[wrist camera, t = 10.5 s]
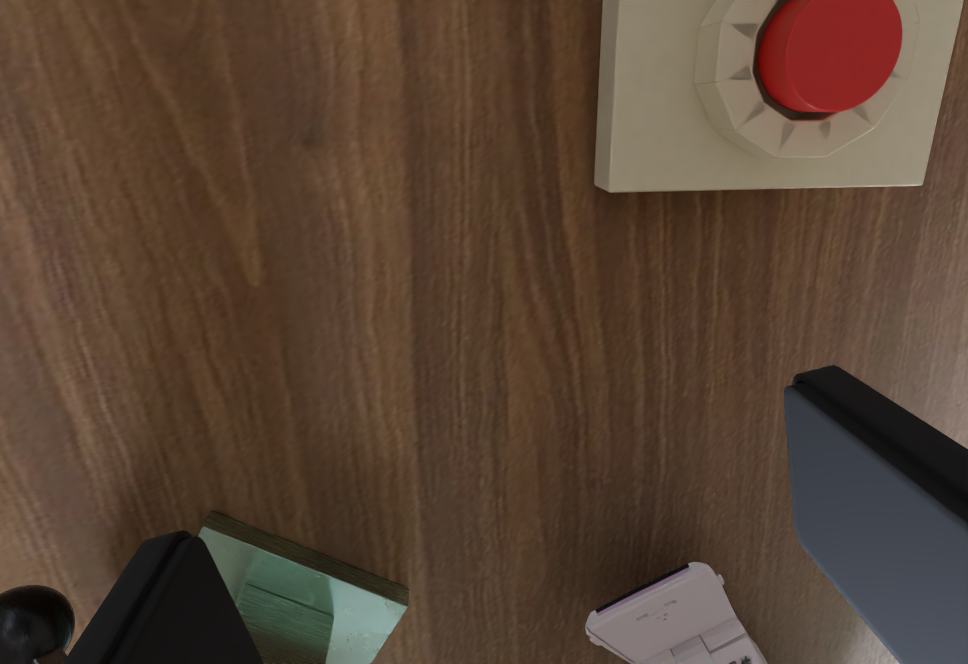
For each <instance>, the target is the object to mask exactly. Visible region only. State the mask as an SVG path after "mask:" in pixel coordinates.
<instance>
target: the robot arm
mask: <svg viewBox="0 0 968 664" xmlns="http://www.w3.org/2000/svg"><path fill="white" fill-rule="evenodd" d="M784 409H785V421H786V434H787V446H788V458H789V471H790V483H791V495H792V508H793V520H794V528H795V532H796V535H797V538H798V540H799V542H800V544H801V546H802V547H803V549H804V550H805V551H806V553H807V554H808V555H809V556H810V557H811V559H812V560H813V561H814V562H815V563H816V565H817V566H818V567H819V568H820V569H821V570H822V572H823V573H824V574H825V575H826V576H827V578H828V579H829V580H830V581H831V582H832V584H833V585H834V586H835V587H836V588H837V590H838V591H839V592H840V593H841V594H842V595H843V597H844V598H845V599H846V600H847V601H848V603H849V604H850V605H851V606H852V607H853V609H854V610H855V611H856V612H857V613H858V614H859V616H860V617H861V618H862V619H863V620H864V622H865V623H866V624H867V625H868V626H869V628H870V629H871V630H872V631H873V632H874V634H875V635H876V636H877V637H878V638H879V639H880V641H881V642H882V643H883V644H884V645H885V647H886V648H887V649H888V650H889V651H890V653H891V654H892V655H893V656H894V657H895V658H896V660H897V661H898V662H899V663H900V664H968V449H966V448H965V447H963V446H962V445H960V444H958V443H957V442H955V441H954V440H952V439H951V438H949V437H948V436H946V435H944V434H943V433H941V432H940V431H938V430H937V429H935V428H933V427H932V426H930V425H929V424H927V423H926V422H924V421H922V420H921V419H919V418H918V417H916V416H915V415H913V414H912V413H910V412H908V411H907V410H905V409H904V408H902V407H901V406H899V405H897V404H896V403H894V402H893V401H891V400H890V399H888V398H887V397H885V396H883V395H882V394H880V393H879V392H877V391H876V390H874V389H872V388H871V387H869V386H868V385H866V384H865V383H863V382H862V381H860V380H858V379H857V378H855V377H854V376H852V375H851V374H849V373H847V372H846V371H844V370H843V369H841V368H840V367H837V366H835V365H832V366H827V367H823V368H819V369H815V370H811V371H807V372H804V373H800V374H796V375H795V376H794V378H793V381H792V385H790V386H787V387H786V388H785V389H784ZM63 664H264V663H263V661H262V658H261V656H260V654H259V652H258V650H257V648H256V646H255V644H254V642H253V640H252V638H251V636H250V633H249V631H248V629H247V627H246V625H245V623H244V621H243V619H242V617H241V615H240V613H239V611H238V609H237V607H236V605H235V603H234V601H233V599H232V597H231V595H230V593H229V591H228V589H227V586H226V584H225V582H224V580H223V578H222V576H221V574H220V572H219V570H218V568H217V566H216V564H215V562H214V560H213V558H212V556H211V554H210V552H209V550H208V548H207V546H206V544H205V542H204V541H203V539H201V538H200V537H192V535H191V534H190V533H188V532H187V531H179V532H175V533H171V534H167V535H163V536H159V537H155V538H151V539H148V540H145V541H144V542H143V543H142V544H141V545H140V547H139V548H138V550H137V552H136V553H135V555H134V556H133V558H132V559H131V561H130V562H129V564H128V565H127V567H126V568H125V570H124V571H123V573H122V574H121V576H120V577H119V579H118V580H117V582H116V583H115V585H114V586H113V588H112V589H111V591H110V592H109V594H108V595H107V597H106V598H105V600H104V601H103V603H102V604H101V606H100V608H99V609H98V611H97V612H96V614H95V615H94V617H93V618H92V620H91V621H90V623H89V624H88V626H87V627H86V629H85V630H84V632H83V633H82V635H81V636H80V638H79V639H78V641H77V642H76V644H75V645H74V647H73V648H72V650H71V651H70V653H69V654H68V656H67V657H66V659H65V661H64V662H63Z"/></svg>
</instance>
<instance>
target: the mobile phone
mask: <svg viewBox="0 0 968 664" xmlns="http://www.w3.org/2000/svg"><path fill="white" fill-rule="evenodd" d="M716 575H717V576H716ZM717 577H718V578H717ZM718 579H719V580H718ZM724 583H725V582H724V580H723V578H722V576H721V575H720V574H715V573H714V571H713V570H712V569H711V568H710V566H709V565H707V564H704V563H700V562H691V563H688V564H686V565H684V566H682V567H680V568H678V569H676V570H673V571H671V572H669V573H667V574H665V575H663V576H661V577H659V578H657V579H655V580H653V581H651V582H649V583H647V584H645V585H643V586H641V587H639V588H637V589H635V590H633V591H631V592H629V593H627V594H625V595H623V596H621V597H619V598H617V599H615V600H613V601H611V602H609V603H608V604H606V605H604V606H602V607H600V608H598V609H596V610H594V611H592V612H591V613H590V615H589V617H588V620H587V622H586V625H585V630H586V634H587V635H588V636H590V637H589V640H590V641H591V642H593V643H594V644H596V645H597V646H599V645H602V646H603V647H605V648H606V649H608V650H610V651H611V652H613V653H614V654H616V655H618V656H619V657H621V658H622V659H624V660H626V661H627V662H629V663H631V664H768V663H767V661H766V660H765V658H764V656H763V655H762V653H761V651H760V650H759V648H758V646H757V645H756V643H755V642H754V641H753V640H752V639H751V638H750V637H749V635H748V633H747V632H746V630H745V629H744V627H743V625H742V624H741V622H740V621H739V619H738V617H737V616H736V614H735V613H734V611H733V609H732V607H731V604H730V602H729V600H728V598H727V596H726V594H725V592H724V589H723V586H722V585H723V584H724ZM721 584H722V585H721ZM630 659H631V660H632V661H631V660H630ZM634 662H635V663H634Z"/></svg>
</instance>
